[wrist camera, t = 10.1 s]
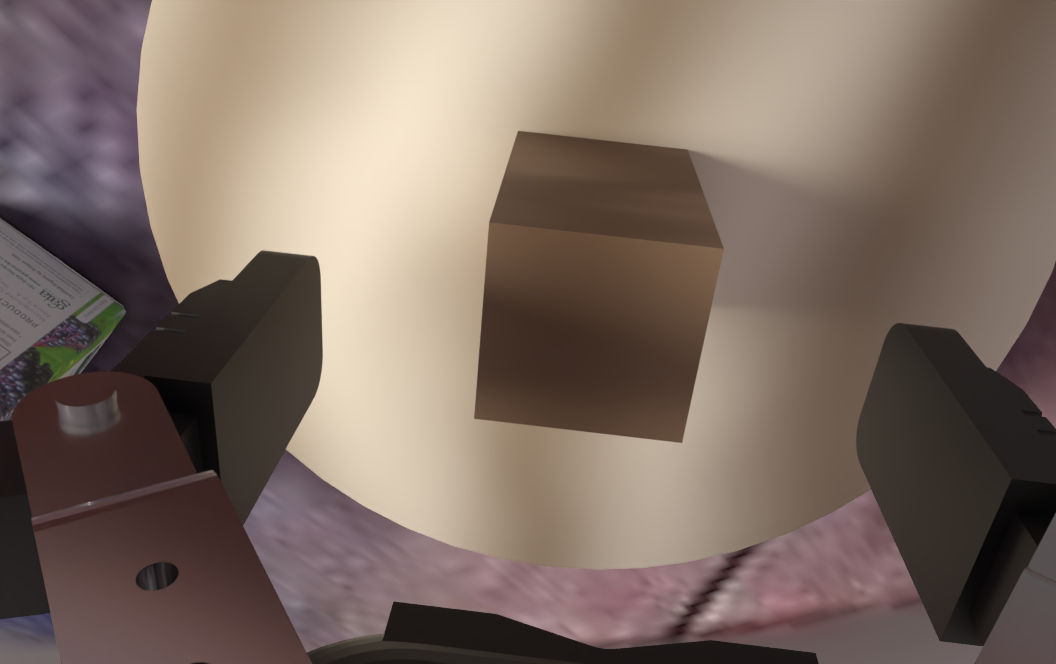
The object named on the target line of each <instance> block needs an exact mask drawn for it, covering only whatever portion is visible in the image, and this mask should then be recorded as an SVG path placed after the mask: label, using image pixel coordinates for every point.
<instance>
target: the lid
mask: <svg viewBox="0 0 1056 664" xmlns="http://www.w3.org/2000/svg"><path fill="white" fill-rule="evenodd" d="M137 125H138V143H139V161H140V172H141V178H142V183H143V188H144V194H145V199H146V204H147V210H148V215H149V221H150V226H151V229H152V232H153V235H154V238H155V241H156V245H157V248H158V251H159V254H160V257H161V260H162V263H163V266H164V269H165V273H166V276H167V279H168V281H169V283H170V285H171V287H172V290H173V292H174V294H175V296H176V298H177V300H178V303H179V304H180V303H181V302H182V301H183V300H184V299H185V298H186V297H187V296H188V295H189V294H190V293H192V292H194V291H196V290H198V289H200V288H203V287H205V286H207V285H209V284H211V283H213V282H216V281H218V280H220V279H222V280H231V281H232V280H233V279H234V278H235V277H236V276H237V275H238V274H239V273H240V272H241V271H242V270H243V269H244V268H245V266H246V265H247V264H248V263H249V262H250V261H251V260H252V259H253V258H254V257H255V256H256V255H257V254H258V253H259V252H260V251H262V250H265V251H274V252H283V253H292V254H301V255H310V256H315V257H316V258H317V260H318V262H319V266H320V274H321V307H322V343H323V362H322V372H321V378H320V382H319V386H318V390H317V392H316V395H315V397H314V399H313V401H312V403H311V405H310V406H309V408H308V410H307V412H306V414H305V415H304V417H303V419H302V421H301V423H300V424H299V426H298V428H297V430H296V431H295V433H294V435H293V437H292V439H291V440H290V442H289V444H288V446H287V448H286V450H287V451H289V452H290V453H291V454H292V455H293V456H295V457H296V458H297V459H298V460H300V461H301V462H302V463H303V464H304V465H306V466H307V467H308V468H309V469H311V470H312V471H313V472H314V473H315V474H317V475H318V476H319V477H320V478H322V479H323V480H324V481H326V482H328V483H329V484H331V485H332V486H334V487H335V488H337V489H338V490H340V491H341V492H343V493H344V494H346V495H348V496H349V497H351V498H352V499H354V500H355V501H357V502H358V503H360V504H361V505H363V506H365V507H367V508H369V509H371V510H372V511H374V512H376V513H378V514H380V515H382V516H384V517H386V518H388V519H390V520H392V521H394V522H396V523H398V524H400V525H402V526H404V527H406V528H408V529H411V530H413V531H416V532H418V533H421V534H423V535H426V536H429V537H431V538H434V539H436V540H439V541H442V542H444V543H447V544H449V545H452V546H456V547H459V548H463V549H467V550H470V551H474V552H477V553H481V554H485V555H488V556H492V557H496V558H500V559H506V560H512V561H518V562H524V563H529V564H535V565H541V566H550V567H565V568H579V569H625V568H645V567H653V566H661V565H668V564H676V563H684V562H691V561H695V560H699V559H703V558H708V557H712V556H716V555H721V554H725V553H729V552H733V551H738V550H741V549H744V548H746V547H749V546H752V545H755V544H758V543H761V542H764V541H767V540H770V539H773V538H776V537H778V536H781V535H784V534H787V533H789V532H791V531H793V530H795V529H798V528H800V527H802V526H804V525H806V524H808V523H810V522H813V521H815V520H817V519H819V518H821V517H823V516H826V515H828V514H830V513H832V512H834V511H835V510H837V509H839V508H840V507H842V506H844V505H845V504H847V503H849V502H850V501H852V500H854V499H855V498H857V497H859V496H860V495H862V494H864V493H865V492H867V491H869V490H870V489H871V487H870V485H869V483H868V481H867V478H866V476H865V474H864V472H863V470H862V467H861V465H860V463H859V460H858V456H857V449H856V434H857V426H858V421H859V417H860V414H861V411H862V408H863V405H864V402H865V399H866V395H867V392H868V389H869V386H870V383H871V380H872V377H873V374H874V371H875V368H876V365H877V362H878V359H879V355H880V352H881V349H882V346H883V343H884V340H885V338H886V336H887V333H888V332H889V330H890V329H891V327H892V326H893V325H895V324H897V323H904V324H913V325H922V326H931V327H940V328H949V329H954V330H956V331H957V332H958V333H959V334H960V335H961V336H962V338H963V339H964V340H965V341H966V343H967V344H968V345H969V346H970V347H971V349H972V350H973V351H974V352H975V354H976V355H977V356H978V357H979V359H980V360H981V361H982V362H983V364H984V365H985V366H986V367H987V368H991V369H993V370H994V371H997V369H998V367H999V366H1000V364H1001V363H1002V361H1003V360H1004V358H1005V357H1006V355H1007V354H1008V352H1009V351H1010V349H1011V348H1012V346H1013V344H1014V343H1015V341H1016V340H1017V338H1018V337H1019V335H1020V334H1021V332H1022V331H1023V329H1024V328H1025V326H1026V324H1027V322H1028V320H1029V318H1030V316H1031V314H1032V312H1033V310H1034V308H1035V306H1036V304H1037V302H1038V300H1039V298H1040V296H1041V294H1042V292H1043V290H1044V288H1045V286H1046V284H1047V282H1048V279H1049V277H1050V275H1051V273H1052V271H1053V268H1054V265H1055V262H1056V0H152V4H151V8H150V13H149V17H148V22H147V27H146V31H145V36H144V40H143V45H142V50H141V62H140V75H139V88H138V101H137Z"/></svg>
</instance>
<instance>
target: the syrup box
mask: <svg viewBox="0 0 1056 664" xmlns="http://www.w3.org/2000/svg"><path fill="white" fill-rule="evenodd" d="M125 314H126V311H125V309H124V306H123V305H121V304H120V303H119V302H117V301H116V300H114V299H113V298H112V297H110V296H109V295H108V294H106V293H105V292H103V291H102V290H101V289H99V288H98V287H97V286H95V285H94V284H92V283H91V282H90V281H88V280H87V279H85V278H84V277H83V276H81V275H80V274H78V273H77V272H76V271H74V270H73V269H71V268H70V267H69V266H67V265H66V264H65V263H63V262H62V261H60V260H59V259H58V258H56V257H55V256H53V255H52V254H51V253H49V252H48V251H46V250H45V249H43V248H42V247H41V246H39V245H38V244H37V243H35V242H34V241H32V240H31V239H29V238H28V237H27V236H25V235H24V234H22V233H21V232H19V231H18V230H16V229H15V228H13V227H12V226H11V225H9V224H8V223H6V222H5V221H4V220H2V219H1V218H0V421H8V420H12V414H13V412H14V409H15V407H16V406H17V404H18V403H19V402H20V401H21V400H22V399H23V398H24V397H25V396H26V395H28V394H29V393H31V392H32V391H33V390H35V389H37V388H39V387H41V386H43V385H45V384H47V383H50V382H52V381H55V380H58V379H61V378H64V377H68V376H72V375H76V374H81V372H82V371H83V370H84V368H85V367H86V366H87V364H88V363H89V362H90V361H91V359H92V358H93V357H94V355H95V354H96V353H97V351H98V350H99V349H100V347H101V346H102V345H103V343H104V342H105V341H106V339H107V338H108V337H109V336H110V334H111V333H112V332H113V330H114V329H115V327H116V326H117V324H118V323H119V322H120V320H121V319H122V318H123V317H124V316H125Z"/></svg>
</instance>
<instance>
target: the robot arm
mask: <svg viewBox="0 0 1056 664" xmlns="http://www.w3.org/2000/svg"><path fill="white" fill-rule="evenodd" d="M322 362H323V343H322V307H321V274H320V266H319V262H318V260H317V258H316V257H315V256H310V255H301V254H292V253H283V252H274V251H265V250H262V251H260V252H259V253H258V254H257V255H256V256H255V257H254V258H253V259H252V260H251V261H250V262H249V263H248V264H247V265H246V266H245V268H244V269H243V270H242V271H241V272H240V273H239V274H238V275H237V276H236V277H235V278H234V279H233V280H232V281H231V280H222V279H220V280H218V281H216V282H213V283H211V284H209V285H207V286H205V287H203V288H200V289H198V290H196V291H194V292H192V293H190V294H189V295H188V296H187V297H186V298H185V299H184V300H183V301H182V302H181V303H180V304H179V305H178V306H177V307H176V308H174V309H173V310H172V311H171V316H169V315H167V316H166V317H165V318H164V319H163V320H162V321H161V322H160V323H159V324H158V325H157V326H156V331H151V332H150V333H149V334H148V335H147V336H146V337H145V338H144V339H143V340H142V341H141V342H140V343H139V344H138V345H137V346H136V347H135V348H134V349H133V350H132V351H131V352H130V353H129V354H128V355H127V356H126V357H125V358H124V359H123V360H122V361H121V362H120V363H119V364H118V365H117V366H116V367H115V368H114V369H113V370H112V371H111V372H109V371H101V372H89V373H82V374H76V375H72V376H68V377H64V378H61V379H58V380H55V381H52V382H50V383H47V384H45V385H43V386H41V387H39V388H37V389H35V390H33V391H32V392H31V393H29V394H28V395H26V396H25V397H24V398H23V399H22V400H21V401H20V402H19V403H18V404H17V406H16V407H15V409H14V412H13V414H12V420H8V421H0V619H6V618H14V617H22V616H29V615H37V614H45V613H51V617H52V622H53V627H54V632H55V637H56V642H57V646H58V651H59V655H60V661H61V664H818V660H817V657H816V653H810V652H802V651H794V650H786V649H778V648H770V647H761V646H753V645H745V644H737V643H729V642H720V641H712V640H709V641H698V642H687V643H676V644H665V645H654V646H643V647H632V648H621V649H602V648H597V647H593V646H590V645H587V644H584V643H581V642H578V641H575V640H572V639H569V638H566V637H563V636H560V635H557V634H554V633H551V632H548V631H545V630H542V629H539V628H536V627H533V626H530V625H527V624H524V623H521V622H518V621H515V620H512V619H509V618H506V617H503V616H500V615H497V614H491V613H483V612H475V611H467V610H458V609H450V608H442V607H434V606H426V605H417V604H409V603H401V602H393V606H392V609H391V613H390V616H389V620H388V623H387V626H386V630H385V633H384V634H378V635H369V636H363V637H358V638H353V639H348V640H343V641H340V642H337V643H333V644H330V645H327V646H323V647H320V648H318V649H315V650H313V651H310V652H308V653H307V652H306V650H305V648H304V646H303V644H302V642H301V640H300V638H299V636H298V634H297V632H296V630H295V628H294V626H293V624H292V622H291V620H290V618H289V616H288V615H287V613H286V611H285V609H284V607H283V605H282V603H281V601H280V599H279V597H278V595H277V593H276V591H275V589H274V587H273V585H272V583H271V581H270V579H269V577H268V575H267V573H266V571H265V569H264V567H263V565H262V563H261V561H260V559H259V557H258V555H257V553H256V551H255V549H254V547H253V545H252V543H251V541H250V539H249V537H248V535H247V533H246V531H245V529H244V527H243V525H244V523H245V521H246V519H247V517H248V516H249V514H250V512H251V510H252V508H253V507H254V505H255V503H256V501H257V500H258V498H259V496H260V494H261V492H262V491H263V489H264V487H265V485H266V483H267V482H268V480H269V478H270V476H271V474H272V473H273V471H274V469H275V467H276V465H277V464H278V462H279V460H280V458H281V457H282V455H283V453H284V451H285V449H286V448H287V446H288V444H289V442H290V440H291V439H292V437H293V435H294V433H295V431H296V430H297V428H298V426H299V424H300V423H301V421H302V419H303V417H304V415H305V414H306V412H307V410H308V408H309V406H310V405H311V403H312V401H313V399H314V397H315V395H316V392H317V390H318V386H319V382H320V378H321V372H322ZM856 449H857V456H858V460H859V463H860V465H861V467H862V470H863V472H864V474H865V476H866V478H867V481H868V483H869V485H870V487H871V490H872V492H873V494H874V496H875V498H876V501H877V503H878V505H879V507H880V509H881V512H882V514H883V516H884V518H885V521H886V523H887V525H888V527H889V529H890V532H891V534H892V536H893V538H894V541H895V543H896V545H897V547H898V549H899V552H900V554H901V556H902V558H903V560H904V563H905V565H906V567H907V569H908V572H909V574H910V576H911V578H912V580H913V583H914V585H915V587H916V589H917V591H918V594H919V596H920V598H921V600H922V603H923V605H924V607H925V609H926V611H927V614H928V616H929V618H930V620H931V622H932V624H933V627H934V629H935V631H936V633H937V635H938V638H939V640H940V641H944V642H953V643H961V644H969V645H977V646H983V648H982V650H981V652H980V654H979V656H978V658H977V660H976V662H975V663H974V664H1056V429H1055V428H1054V426H1053V425H1052V424H1051V423H1050V422H1049V420H1048V419H1047V418H1046V417H1042V412H1041V411H1040V410H1039V409H1038V407H1037V406H1036V405H1035V404H1034V403H1033V401H1032V400H1031V399H1030V398H1029V397H1028V395H1027V394H1026V393H1025V392H1024V391H1023V390H1022V389H1021V388H1019V387H1018V386H1016V385H1015V384H1014V383H1012V382H1011V381H1009V380H1008V379H1006V378H1005V377H1003V376H1002V375H1000V374H999V373H997V372H996V371H994V370H993V369H991V368H987V367H986V366H985V365H984V364H983V362H982V361H981V360H980V359H979V357H978V356H977V355H976V354H975V352H974V351H973V350H972V349H971V347H970V346H969V345H968V344H967V343H966V341H965V340H964V339H963V338H962V336H961V335H960V334H959V333H958V332H957V331H956V330H954V329H949V328H940V327H931V326H922V325H913V324H904V323H897V324H895V325H893V326H892V327H891V329H890V330H889V332H888V333H887V336H886V338H885V340H884V343H883V346H882V349H881V352H880V355H879V359H878V362H877V365H876V368H875V371H874V374H873V377H872V380H871V383H870V386H869V389H868V392H867V395H866V399H865V402H864V405H863V408H862V411H861V414H860V417H859V421H858V426H857V434H856Z"/></svg>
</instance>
